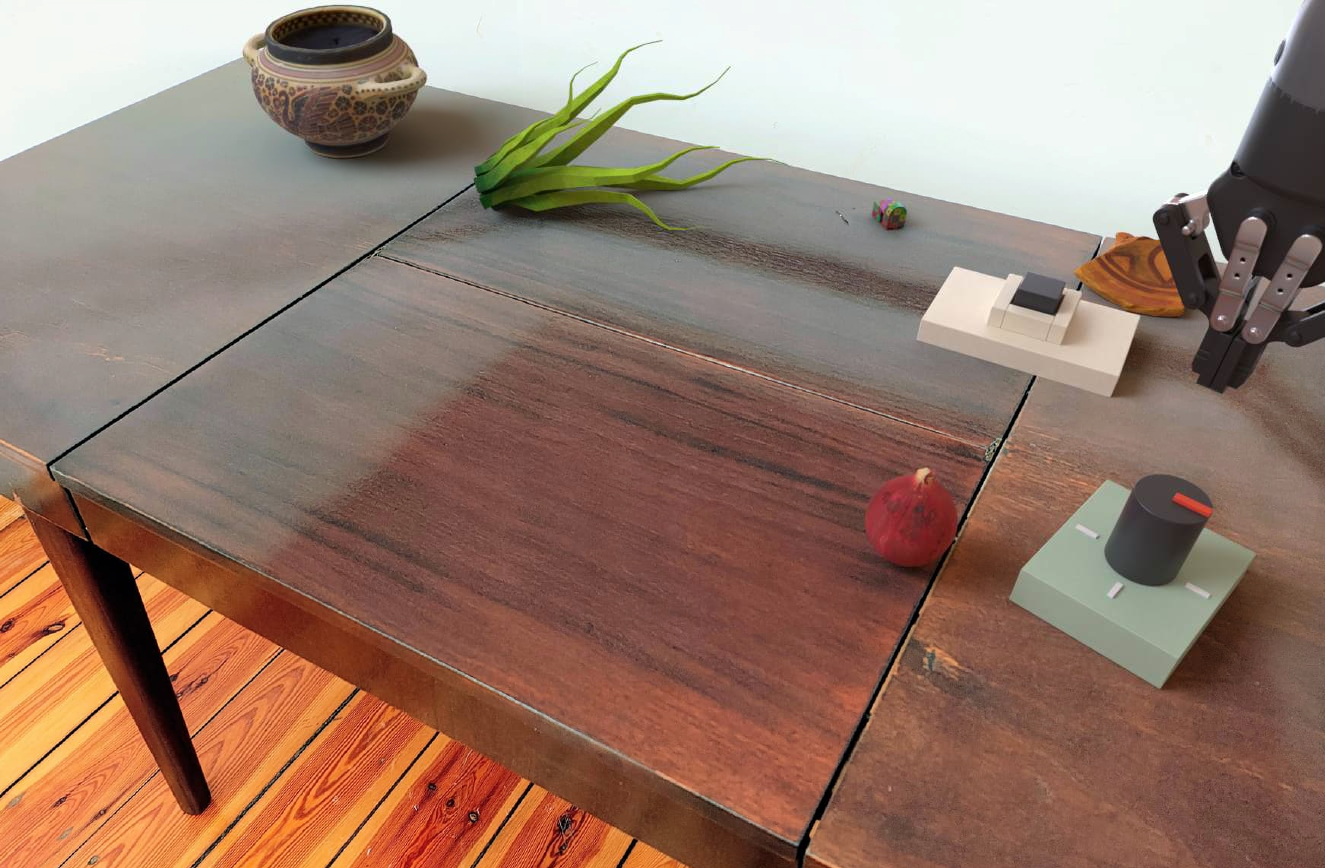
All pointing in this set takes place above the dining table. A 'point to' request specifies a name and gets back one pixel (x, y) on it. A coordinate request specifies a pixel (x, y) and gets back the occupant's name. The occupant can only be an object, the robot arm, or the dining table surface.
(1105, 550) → the volume knob
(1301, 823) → the dining table surface
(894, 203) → the multicoloured toy piece
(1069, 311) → the stepped cream pedestal
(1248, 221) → the robot arm
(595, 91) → the decorative plant
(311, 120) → the ceramic bowl
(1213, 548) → the panel
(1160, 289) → the pottery fragment
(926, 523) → the pomegranate
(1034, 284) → the dark grey square block
